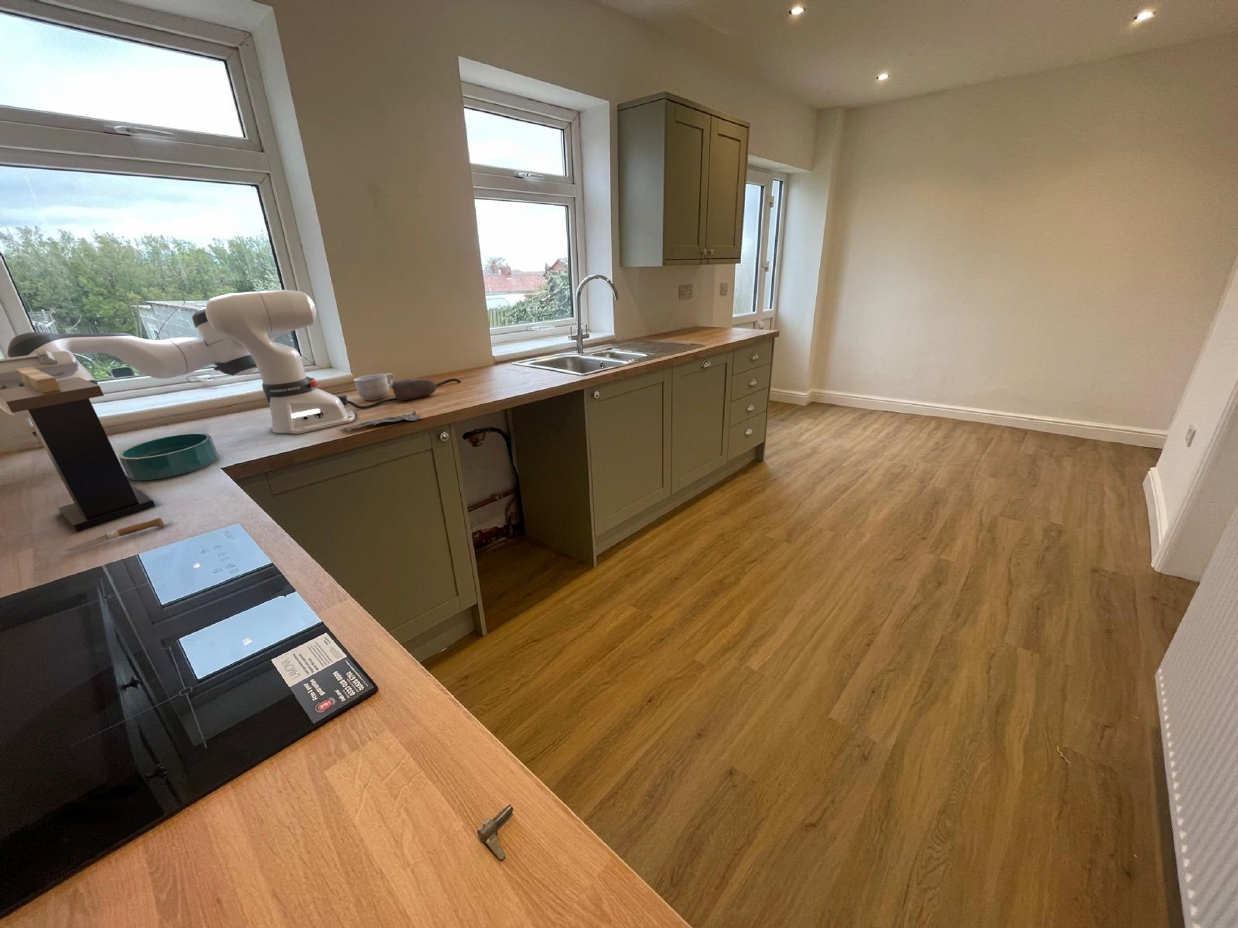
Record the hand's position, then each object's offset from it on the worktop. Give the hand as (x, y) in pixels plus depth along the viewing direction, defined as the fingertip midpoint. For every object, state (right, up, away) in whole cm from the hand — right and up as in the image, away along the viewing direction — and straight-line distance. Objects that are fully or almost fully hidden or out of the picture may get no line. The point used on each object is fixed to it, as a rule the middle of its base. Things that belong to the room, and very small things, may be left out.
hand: (10, 355), depth 108 cm
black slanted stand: (+24, -33, -3) cm, 41 cm away
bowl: (+20, -24, +17) cm, 36 cm away
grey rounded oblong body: (+60, 0, +69) cm, 92 cm away
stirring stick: (+18, -8, -10) cm, 22 cm away
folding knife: (+39, -38, -15) cm, 56 cm away
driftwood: (+60, -12, +43) cm, 75 cm away
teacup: (+45, 0, +72) cm, 85 cm away
